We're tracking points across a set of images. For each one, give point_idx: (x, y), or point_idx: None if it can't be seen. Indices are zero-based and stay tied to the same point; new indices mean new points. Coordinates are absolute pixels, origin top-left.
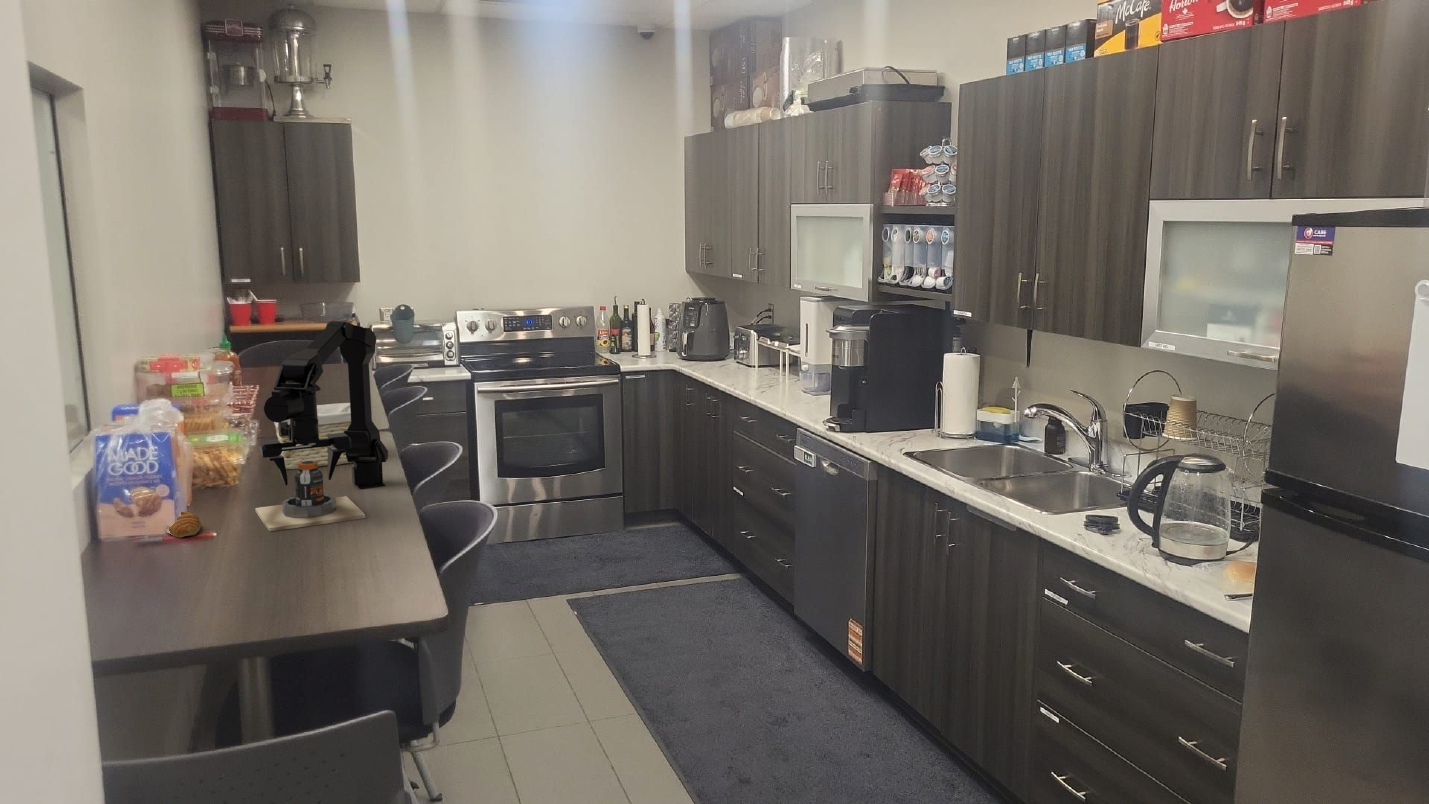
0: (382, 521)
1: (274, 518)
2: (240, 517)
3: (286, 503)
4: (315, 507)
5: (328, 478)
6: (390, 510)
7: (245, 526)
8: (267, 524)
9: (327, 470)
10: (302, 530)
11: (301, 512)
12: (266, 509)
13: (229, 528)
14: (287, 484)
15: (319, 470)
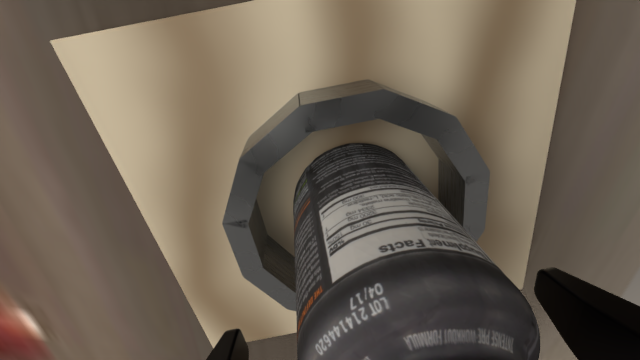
0: (541, 317)
1: (210, 258)
2: (26, 137)
3: (249, 248)
4: None
5: (542, 290)
6: (624, 218)
7: (111, 270)
8: (199, 316)
9: (607, 318)
10: None
11: None
12: (133, 100)
13: (54, 279)
14: (248, 354)
15: (536, 356)
